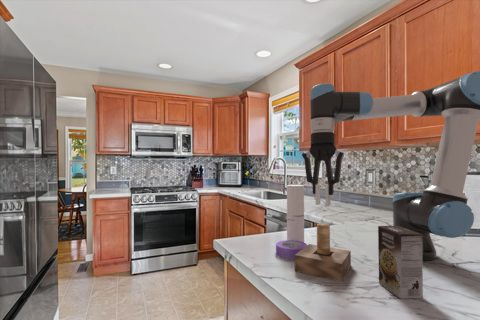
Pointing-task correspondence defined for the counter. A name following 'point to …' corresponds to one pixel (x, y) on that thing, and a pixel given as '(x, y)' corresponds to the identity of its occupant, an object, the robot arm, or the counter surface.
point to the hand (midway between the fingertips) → (323, 204)
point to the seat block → (323, 262)
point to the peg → (323, 239)
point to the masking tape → (289, 248)
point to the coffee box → (400, 261)
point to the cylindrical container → (295, 212)
